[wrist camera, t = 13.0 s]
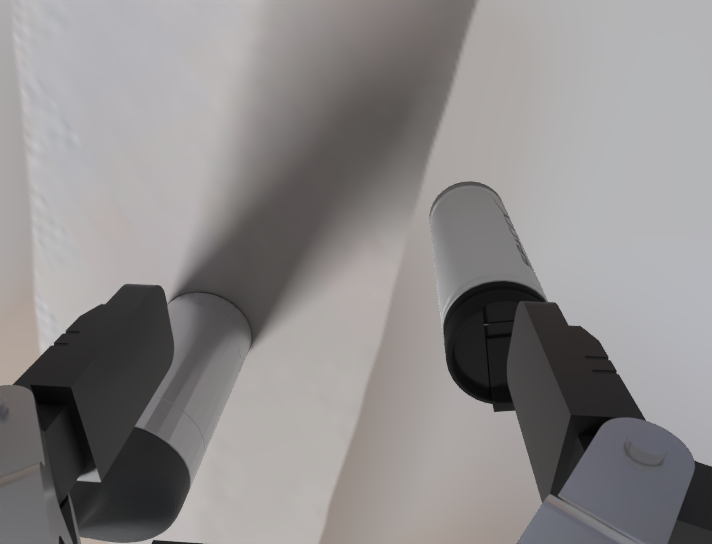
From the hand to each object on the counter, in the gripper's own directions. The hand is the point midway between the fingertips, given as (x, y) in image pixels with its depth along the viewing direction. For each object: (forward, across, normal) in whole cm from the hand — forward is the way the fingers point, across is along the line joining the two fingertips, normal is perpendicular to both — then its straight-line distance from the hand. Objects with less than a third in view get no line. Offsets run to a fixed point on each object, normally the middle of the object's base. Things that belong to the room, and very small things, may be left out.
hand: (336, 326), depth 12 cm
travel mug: (+32, -8, +10) cm, 35 cm away
